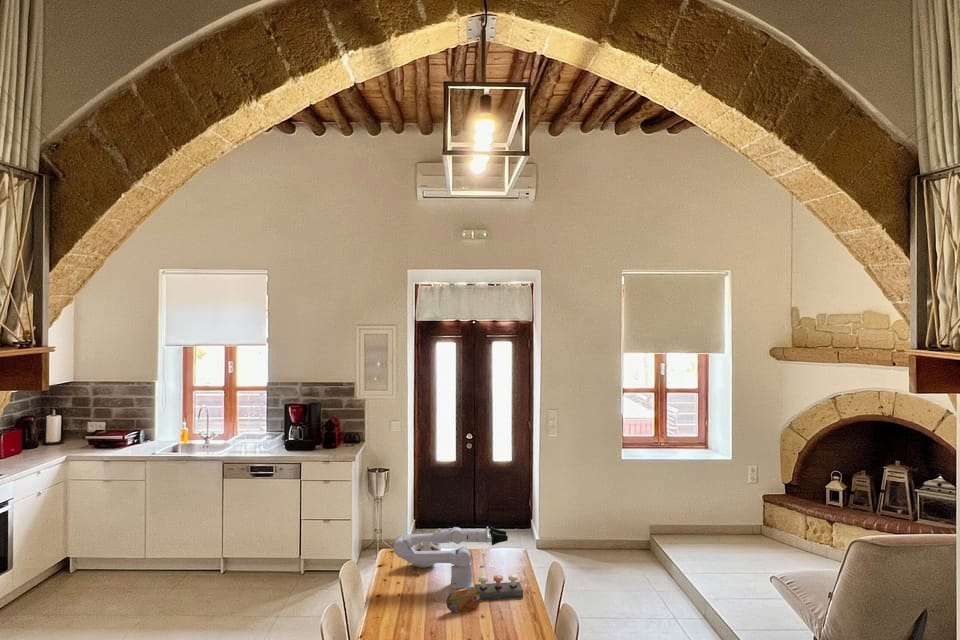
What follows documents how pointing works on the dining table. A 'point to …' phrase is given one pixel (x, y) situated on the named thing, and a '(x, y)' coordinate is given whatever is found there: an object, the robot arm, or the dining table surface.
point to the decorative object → (426, 547)
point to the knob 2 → (513, 579)
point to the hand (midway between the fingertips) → (506, 536)
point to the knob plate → (500, 591)
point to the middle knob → (498, 580)
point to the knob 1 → (483, 581)
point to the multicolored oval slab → (463, 600)
